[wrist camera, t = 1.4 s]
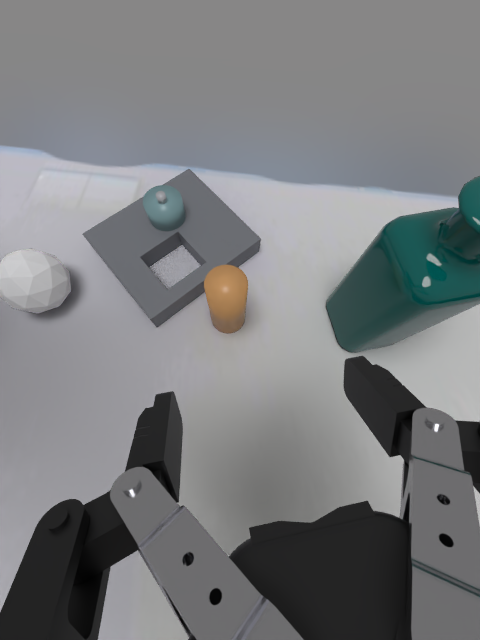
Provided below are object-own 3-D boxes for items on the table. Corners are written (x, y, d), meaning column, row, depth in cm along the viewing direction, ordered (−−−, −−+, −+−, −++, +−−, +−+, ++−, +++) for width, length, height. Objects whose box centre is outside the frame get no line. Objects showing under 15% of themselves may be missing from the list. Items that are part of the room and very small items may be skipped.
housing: (156, 327, 37) (140, 307, 31) (92, 246, 41) (65, 213, 34) (259, 251, 41) (263, 219, 35) (192, 184, 45) (184, 144, 38)
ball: (58, 290, 42) (35, 236, 37) (92, 303, 38) (70, 244, 34) (1, 315, 36) (-35, 255, 32) (34, 332, 33) (-2, 268, 28)
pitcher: (340, 356, 36) (482, 273, 16) (321, 296, 39) (419, 158, 18) (411, 341, 37) (635, 243, 16) (387, 284, 40) (554, 138, 19)
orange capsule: (226, 340, 37) (223, 312, 27) (204, 315, 38) (195, 281, 28) (251, 319, 38) (257, 286, 28) (230, 296, 39) (228, 256, 29)
